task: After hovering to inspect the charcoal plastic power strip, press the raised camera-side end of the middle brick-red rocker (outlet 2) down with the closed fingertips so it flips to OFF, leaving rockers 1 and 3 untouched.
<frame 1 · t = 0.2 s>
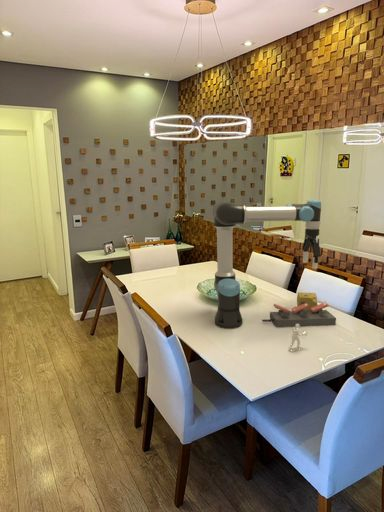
hand: (309, 265, 201), 28 cm above the table, fingers open, 13 cm apart
figurine: (296, 349, 163), on the table
rocker 3: (319, 307, 194), point 7 cm above the table, hinge at -22.0°
cheese: (306, 311, 208), on the table
rocker 2: (300, 308, 193), point 7 cm above the table, hinge at -22.0°
power strip: (301, 321, 192), on the table
rocker 1: (282, 309, 193), point 7 cm above the table, hinge at 22.0°
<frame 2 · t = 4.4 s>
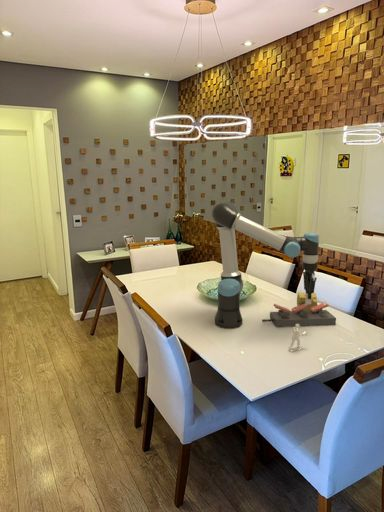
hand: (308, 303, 193), 9 cm above the table, fingers closed
rocker 2: (300, 308, 193), point 7 cm above the table, hinge at -20.8°, touching gripper
everything else where it was.
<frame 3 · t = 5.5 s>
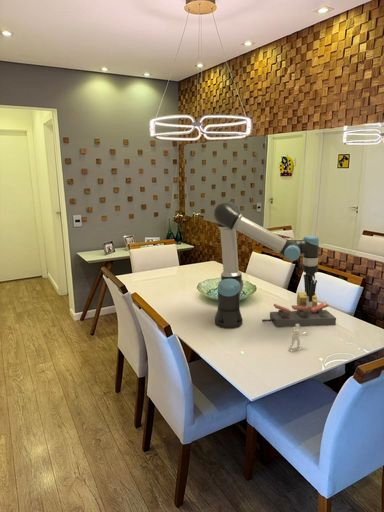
hand: (309, 306, 193), 8 cm above the table, fingers closed
rocker 2: (300, 308, 193), point 7 cm above the table, hinge at 4.6°, touching gripper
everything else where it was.
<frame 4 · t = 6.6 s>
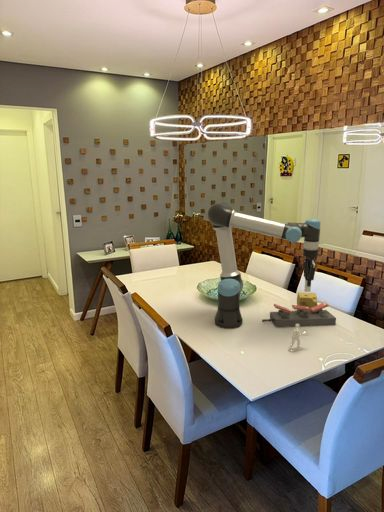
hand: (307, 291, 191), 16 cm above the table, fingers closed
rocker 2: (300, 308, 193), point 7 cm above the table, hinge at 8.5°
everything else where it was.
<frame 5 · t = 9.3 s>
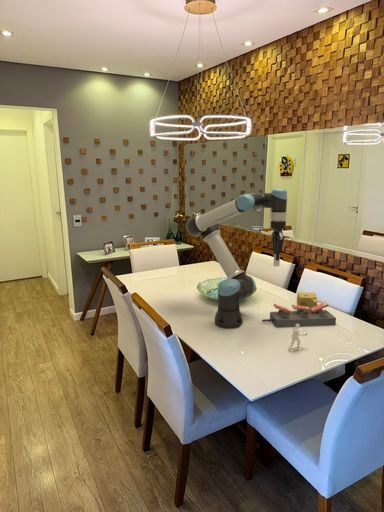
hand: (276, 265, 182), 32 cm above the table, fingers closed
rocker 2: (300, 308, 193), point 7 cm above the table, hinge at 9.3°
everything else where it was.
at the end: rocker 2 at +9° (first picture: -22°); rocker 1 at +22° (first picture: +22°); rocker 3 at -22° (first picture: -22°) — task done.
